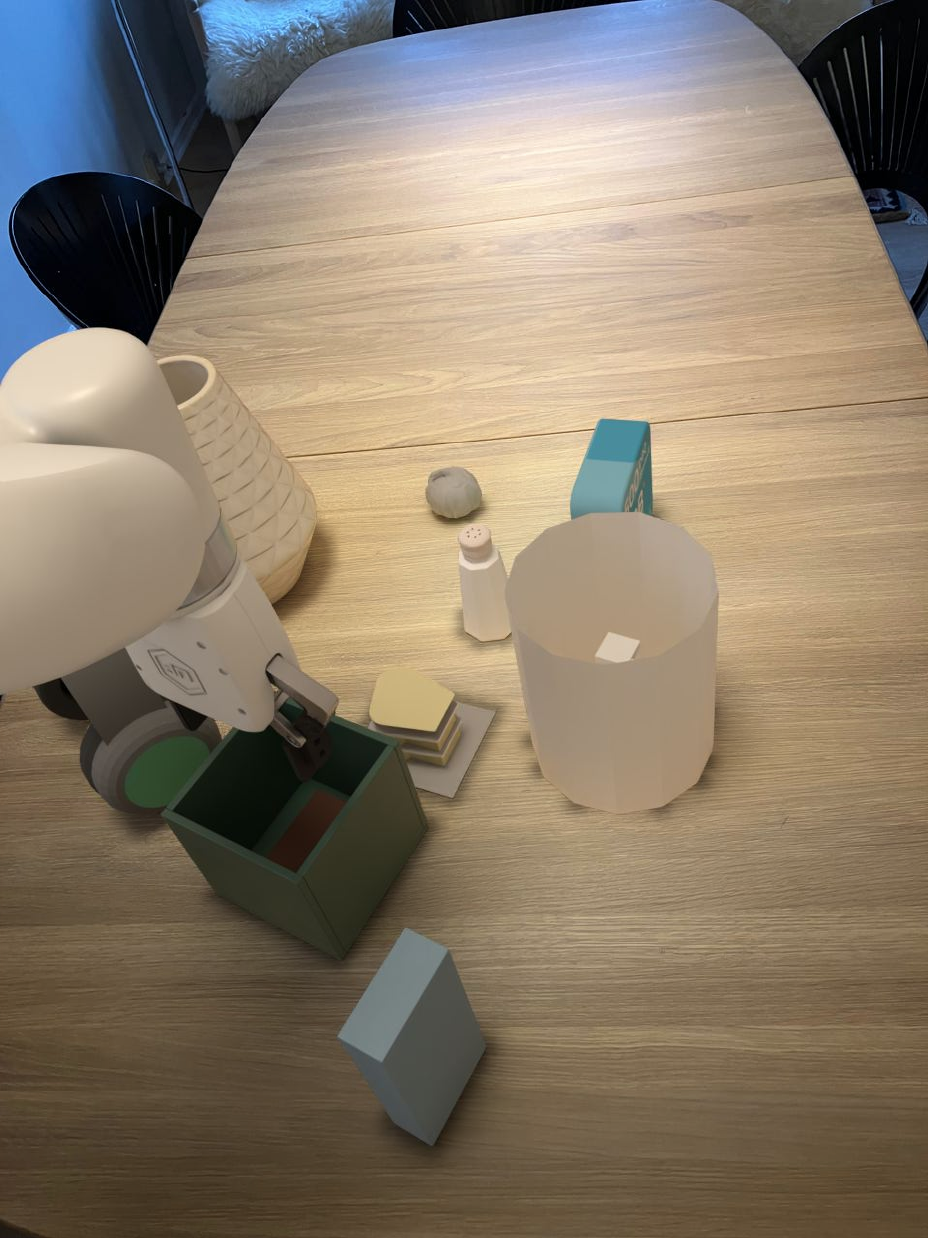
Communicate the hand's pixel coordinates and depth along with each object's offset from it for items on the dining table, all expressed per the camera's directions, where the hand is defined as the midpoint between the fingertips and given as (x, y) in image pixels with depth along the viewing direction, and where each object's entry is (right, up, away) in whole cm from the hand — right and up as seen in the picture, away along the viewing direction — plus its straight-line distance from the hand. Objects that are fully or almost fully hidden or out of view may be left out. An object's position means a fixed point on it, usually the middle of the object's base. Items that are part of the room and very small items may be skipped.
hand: (259, 738), depth 68 cm
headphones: (-14, -3, +23) cm, 27 cm away
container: (+26, -2, +16) cm, 31 cm away
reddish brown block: (+2, -10, +12) cm, 16 cm away
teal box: (+28, +14, +29) cm, 43 cm away
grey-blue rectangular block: (+12, -23, -1) cm, 26 cm away
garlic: (+13, +19, +37) cm, 44 cm away
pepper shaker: (+16, +8, +26) cm, 32 cm away
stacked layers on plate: (+10, -2, +18) cm, 21 cm away
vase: (-8, +12, +36) cm, 39 cm away
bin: (+3, -11, +12) cm, 16 cm away
